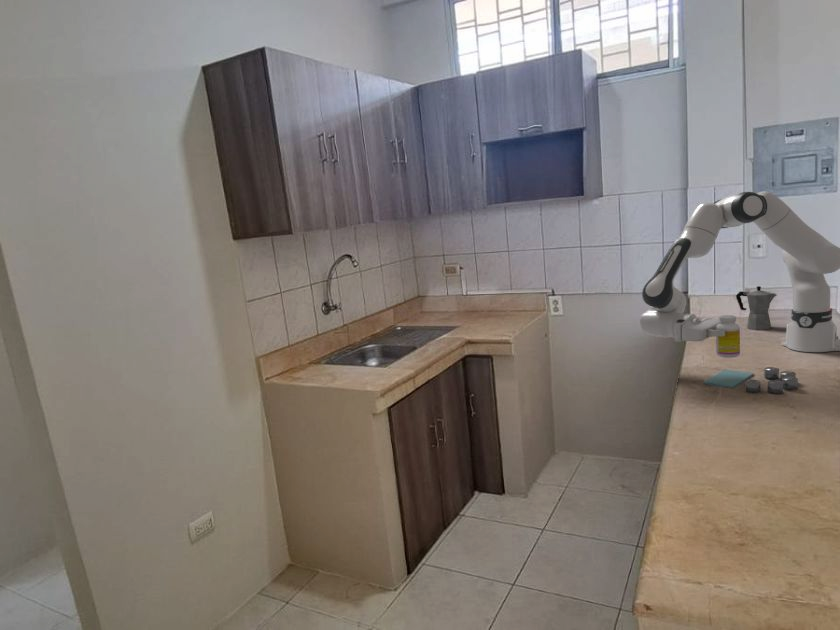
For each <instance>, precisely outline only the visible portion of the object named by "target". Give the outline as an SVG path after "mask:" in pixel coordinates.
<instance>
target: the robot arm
mask: <svg viewBox="0 0 840 630" xmlns="http://www.w3.org/2000/svg"><path fill="white" fill-rule="evenodd" d="M750 223H754V224H755V225H756V227H758V228H759V229H760V230H761V231H762V232H763V233H764V235H766V236H767V238H769V240H770V241H771V242H772V243H773V244H774V245H775V246H777V247H779V248H780V249H782V250H783V251H782V254H781V257H782V260H783V263H785V265H786V267H787V271H788V274H789V278H790V283H791V288H792V309H791V313H790V315H791V318H790V319H791V321H790V322H789V323H787V325H786V334H785V340H784V341H781V346H784V347H786V348H788V349H789V350H793V351H797V352H804V353H827V352H838V351H839V352H840V337H839V336H838V327H837V325H836V324H835V323H834V321H833V311H834V310H833V308H832V307H831V287H830V285H829V283H827V280H826V277H825V275H827V274H832V273H835V272H837V271H839V270H840V247H839V246H837V245H835V244H834V243H832V242H831V241H829V240H828V239H826V238H825V237H824V236H823V235H821V234H820V233H819V232H817V231H816V230H815V229H813V228H812V227H810V226H809V225H808V224H806V223H805V222H804V221H803V220H802V219H801V218H800V217H799V216H798V215H797V214H796V213H795V211H793V210H792V209H791V207H790V206H789V205H787V204H786V203H785V202H784V201H783V200H782V199H780V198H779V197H778V196H777V195H775V194H773V193H772V192H770V191H768V190H763V191H758V192H752V191H743V192H740V193H735V194H730V195H728V196H725V197H724V198H721V199H718V200H717V201H715V202H703V203H700V204H698V205H697V206H696V207H695V208H694V210H693V211H692V213H691V215H690V216H689V218H688V220H687V221H686V223H685V225H684V228H683V230H682V232H681V233H680V235H679V237H678V239H676V240H675V241H674V242H673V243H672V244H671V246H670V247H669V249H668V251H667V253H666V254H665V256H664V258H663V259H662V261H661V263H660V264H659V266H658V268H657V269H656V271H655V273H654V274H653V275H652V277H650V279H649V280H648V281H647V282H646V283H645V284H644V286H643V289H642V293H641V296H642V300H643V302H644V303H645V304H646V305H648V306H650V307H649V308H648V309H647V310H646V311H645V312H643V313H642V314H641V315H640V319H639V323H640V324H639V325H640V328H641V330H642V331H643V333H644V334H646V335H650V336H653V337H657V338H674V341H675V342H679V343H680V342H703V341H704V340H707V339H709V338H712V337H713V338H714V337H716V336H725V335H726V330H716V326H717V325H718V324H720V320H719V319H720V316H719V317H716V316H713V317H712V316H707V317H702V318H701V319H700V318H699V317H697V315H696V314H694V313H685V311H686V309H687V305H688V299H687V297H686V295H685V293H683V292H682V291H681V290H679V289H678V288H677V287H676V286H674V280H675V278H676V276H677V274H678V273H679V271H680V269H681V267H682V266H683V263H684V262H685V261H686V260H687V259H690V258H691V259H697V258H702V257H704V256H706V255H708V253H709V252H710V251H711V249H712V248H713V247H714V244H715V243H716V240H717V238H718V235H719V233H720V231H721V229H728V228H734V227H735V228H736V227H740V226H742V225H746V224H750Z"/></svg>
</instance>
